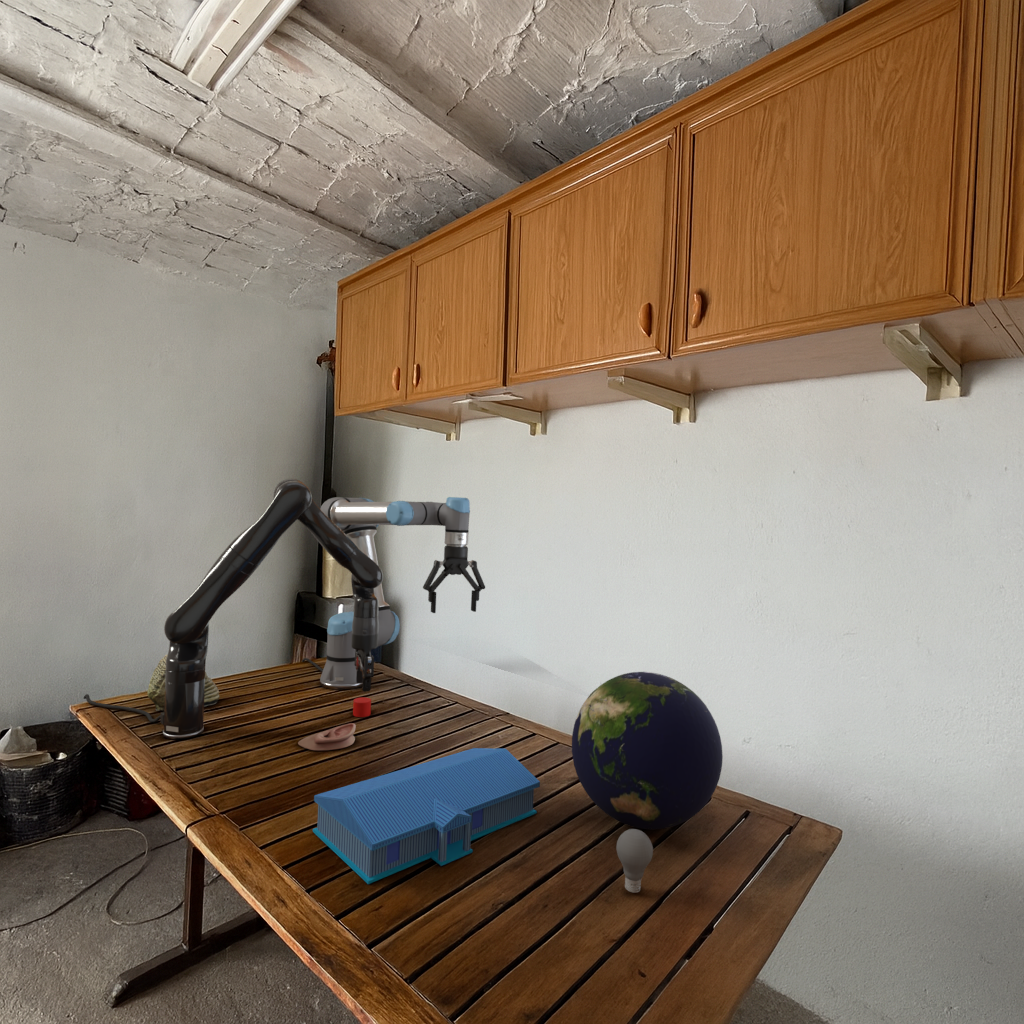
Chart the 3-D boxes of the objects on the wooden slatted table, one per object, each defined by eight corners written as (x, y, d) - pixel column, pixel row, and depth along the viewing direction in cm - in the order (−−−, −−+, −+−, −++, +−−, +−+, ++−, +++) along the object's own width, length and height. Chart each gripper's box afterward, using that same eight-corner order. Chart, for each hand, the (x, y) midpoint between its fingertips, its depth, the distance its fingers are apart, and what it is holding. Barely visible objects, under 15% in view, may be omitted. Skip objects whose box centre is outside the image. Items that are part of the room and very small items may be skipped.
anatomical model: (291, 731, 158) (315, 716, 169) (291, 747, 158) (314, 731, 169) (341, 738, 155) (361, 722, 167) (340, 754, 155) (360, 737, 167)
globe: (548, 837, 121) (555, 681, 121) (589, 777, 149) (595, 650, 148) (711, 879, 110) (720, 707, 109) (723, 805, 138) (730, 668, 137)
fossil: (144, 707, 182) (145, 655, 182) (212, 696, 194) (213, 647, 194) (151, 716, 175) (153, 662, 175) (221, 703, 188) (223, 653, 188)
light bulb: (610, 879, 108) (613, 822, 108) (644, 879, 109) (647, 822, 109) (619, 902, 102) (622, 840, 102) (655, 901, 103) (658, 840, 103)
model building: (378, 893, 102) (380, 832, 102) (311, 830, 120) (313, 778, 120) (548, 819, 128) (550, 770, 128) (472, 776, 146) (474, 733, 146)
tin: (364, 718, 182) (364, 703, 182) (349, 715, 183) (349, 701, 183) (374, 713, 186) (374, 698, 186) (359, 710, 188) (360, 696, 188)
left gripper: (383, 636, 179) (381, 692, 180) (372, 626, 192) (370, 679, 193) (357, 637, 176) (355, 695, 177) (347, 627, 189) (345, 681, 189)
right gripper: (421, 546, 194) (418, 615, 194) (496, 546, 204) (493, 612, 204) (415, 544, 201) (412, 610, 201) (488, 544, 211) (485, 608, 211)
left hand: (363, 686), depth 185 cm, fingers open, 8 cm apart
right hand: (453, 611), depth 203 cm, fingers open, 13 cm apart
